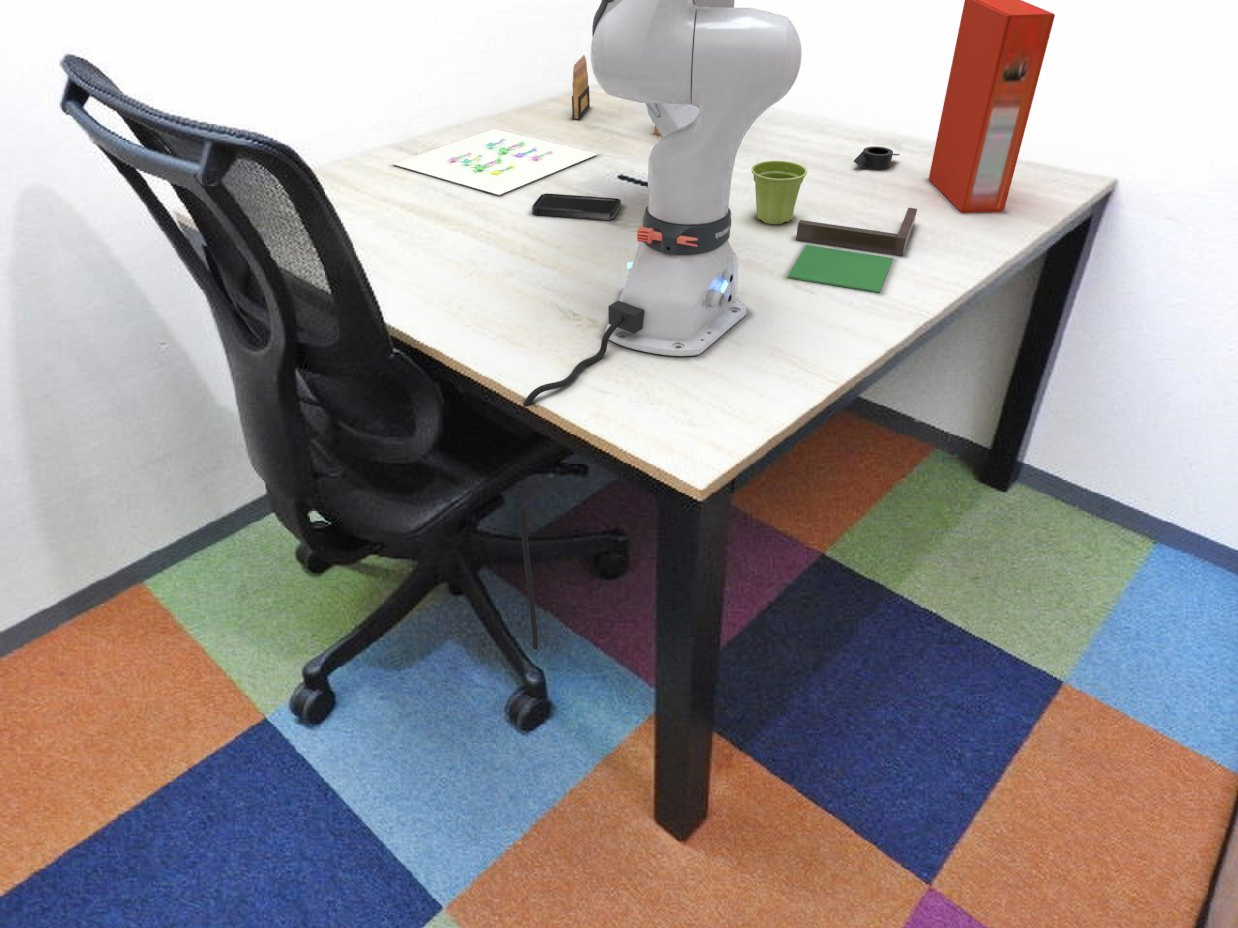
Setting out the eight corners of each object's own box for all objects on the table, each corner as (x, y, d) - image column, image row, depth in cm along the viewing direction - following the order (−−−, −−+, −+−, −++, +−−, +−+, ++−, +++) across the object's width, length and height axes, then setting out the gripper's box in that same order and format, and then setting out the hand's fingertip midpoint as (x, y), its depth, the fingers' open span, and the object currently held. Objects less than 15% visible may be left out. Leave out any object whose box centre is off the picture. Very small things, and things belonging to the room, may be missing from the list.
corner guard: (902, 256, 140) (906, 238, 138) (795, 240, 146) (798, 223, 144) (913, 225, 151) (917, 208, 149) (813, 211, 156) (816, 195, 154)
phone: (542, 193, 160) (621, 198, 158) (542, 199, 161) (621, 204, 158) (530, 208, 154) (612, 214, 152) (530, 214, 155) (612, 220, 152)
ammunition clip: (580, 120, 202) (578, 64, 195) (572, 119, 202) (570, 64, 195) (589, 107, 210) (588, 54, 203) (582, 107, 211) (580, 54, 203)
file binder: (959, 213, 155) (1007, 14, 136) (926, 180, 169) (965, -5, 150) (1003, 212, 155) (1057, 14, 136) (967, 179, 169) (1011, -5, 150)
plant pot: (800, 230, 149) (806, 180, 144) (745, 226, 150) (749, 176, 145) (801, 210, 156) (808, 162, 151) (749, 207, 158) (753, 159, 152)
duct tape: (848, 158, 179) (850, 144, 177) (897, 160, 178) (900, 145, 177) (852, 171, 173) (855, 156, 171) (904, 172, 172) (906, 157, 171)
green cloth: (879, 293, 130) (879, 291, 129) (787, 278, 134) (787, 276, 134) (892, 259, 139) (892, 258, 139) (806, 246, 143) (806, 244, 143)
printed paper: (499, 196, 162) (498, 189, 161) (391, 165, 177) (390, 158, 176) (598, 155, 181) (598, 148, 180) (494, 130, 196) (493, 123, 195)
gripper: (653, 82, 139) (705, 152, 142) (703, 55, 154) (750, 120, 156) (628, 107, 144) (679, 175, 146) (679, 79, 158) (725, 141, 160)
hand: (716, 146), depth 151 cm, fingers closed
